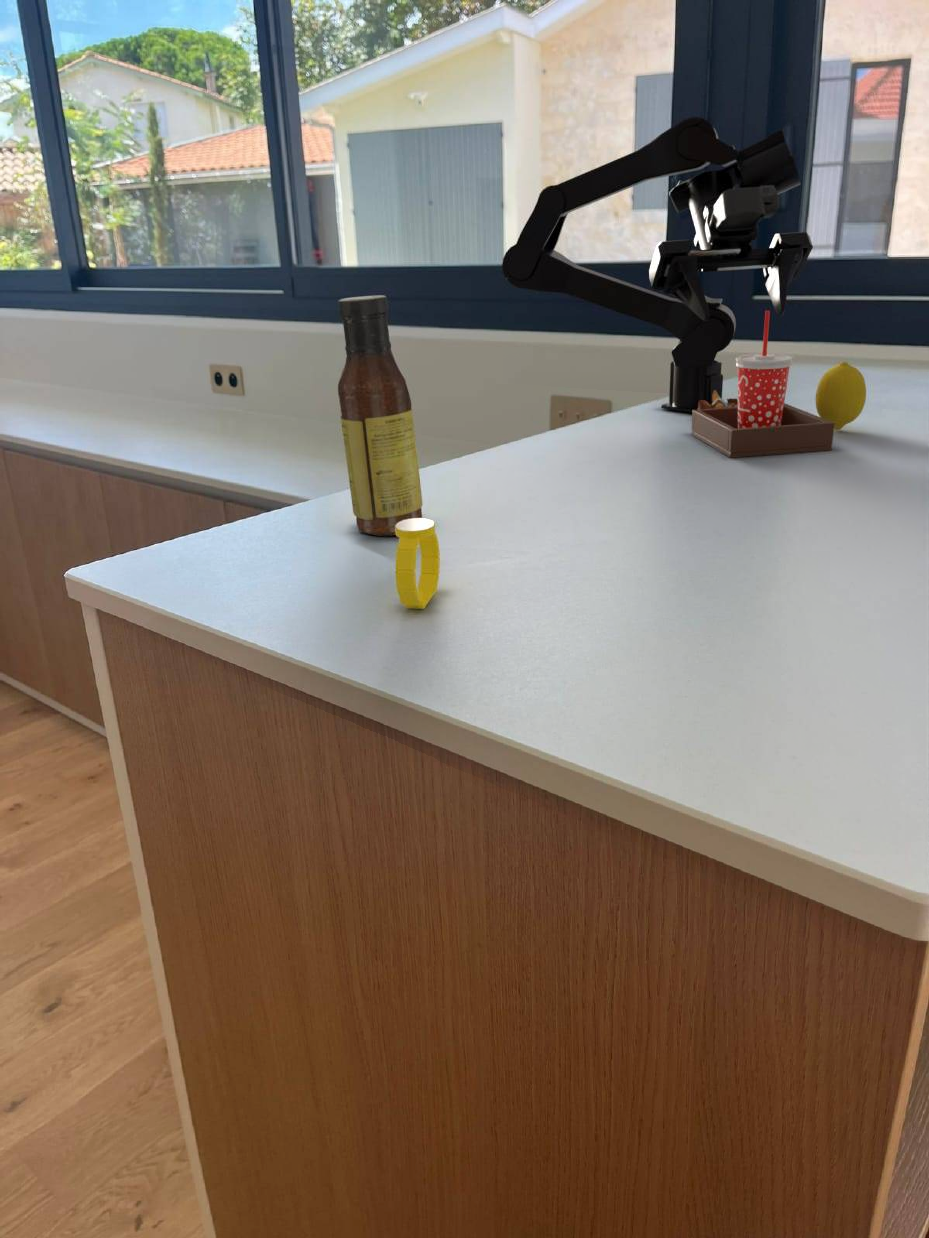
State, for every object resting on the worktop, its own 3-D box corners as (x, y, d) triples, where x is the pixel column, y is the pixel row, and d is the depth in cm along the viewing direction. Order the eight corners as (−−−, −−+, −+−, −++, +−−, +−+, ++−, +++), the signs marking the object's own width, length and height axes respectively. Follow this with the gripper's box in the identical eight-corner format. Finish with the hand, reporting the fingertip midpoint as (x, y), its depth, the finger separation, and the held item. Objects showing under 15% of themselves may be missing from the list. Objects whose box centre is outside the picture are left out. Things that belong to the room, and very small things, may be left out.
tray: (691, 434, 115) (692, 409, 114) (783, 427, 116) (785, 403, 115) (730, 458, 103) (732, 430, 102) (831, 450, 104) (834, 423, 103)
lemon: (869, 434, 111) (877, 364, 107) (821, 436, 111) (827, 366, 108) (852, 424, 116) (859, 357, 113) (806, 426, 116) (812, 359, 113)
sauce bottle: (433, 519, 87) (419, 292, 79) (408, 540, 82) (389, 299, 74) (369, 516, 89) (348, 294, 81) (339, 536, 84) (315, 301, 76)
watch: (415, 586, 71) (410, 510, 69) (450, 588, 71) (446, 511, 68) (389, 616, 66) (381, 535, 64) (426, 619, 65) (421, 537, 63)
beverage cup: (732, 431, 113) (740, 308, 108) (786, 432, 111) (797, 307, 106) (729, 442, 108) (737, 314, 102) (785, 443, 106) (797, 313, 100)
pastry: (765, 411, 125) (767, 384, 124) (745, 430, 116) (747, 400, 114) (712, 409, 129) (714, 382, 127) (688, 427, 119) (689, 398, 118)
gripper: (657, 167, 110) (684, 272, 104) (812, 158, 111) (847, 260, 105) (638, 239, 120) (661, 338, 114) (781, 230, 122) (811, 327, 116)
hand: (744, 315), depth 112 cm, fingers open, 9 cm apart
